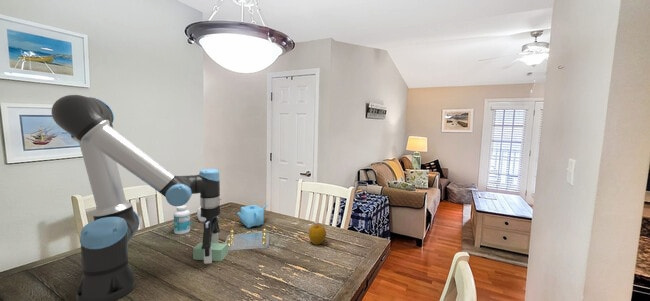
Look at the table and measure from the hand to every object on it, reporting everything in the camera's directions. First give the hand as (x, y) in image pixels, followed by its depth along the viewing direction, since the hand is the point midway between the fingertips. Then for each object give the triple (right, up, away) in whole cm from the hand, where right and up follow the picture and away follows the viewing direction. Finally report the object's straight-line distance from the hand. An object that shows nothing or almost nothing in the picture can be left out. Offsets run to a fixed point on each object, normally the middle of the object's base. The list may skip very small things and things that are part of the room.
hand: (211, 254), depth 114 cm
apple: (+44, -1, +16) cm, 47 cm away
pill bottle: (-26, +2, +24) cm, 35 cm away
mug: (-20, +3, +42) cm, 46 cm away
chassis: (+11, 0, +14) cm, 18 cm away
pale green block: (0, -1, 0) cm, 1 cm away
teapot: (+8, +2, +37) cm, 38 cm away
